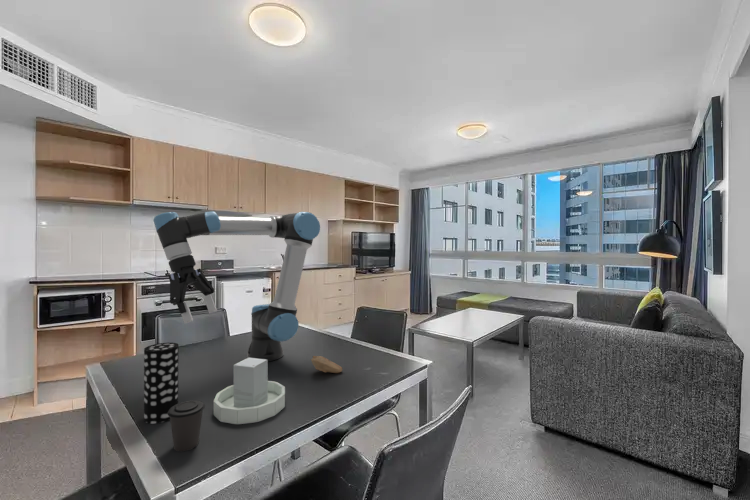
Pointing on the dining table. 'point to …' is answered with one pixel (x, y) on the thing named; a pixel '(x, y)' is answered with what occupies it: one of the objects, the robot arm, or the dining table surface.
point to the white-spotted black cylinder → (160, 381)
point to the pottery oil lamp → (325, 365)
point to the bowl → (239, 415)
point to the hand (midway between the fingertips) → (202, 317)
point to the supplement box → (250, 382)
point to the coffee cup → (186, 424)
